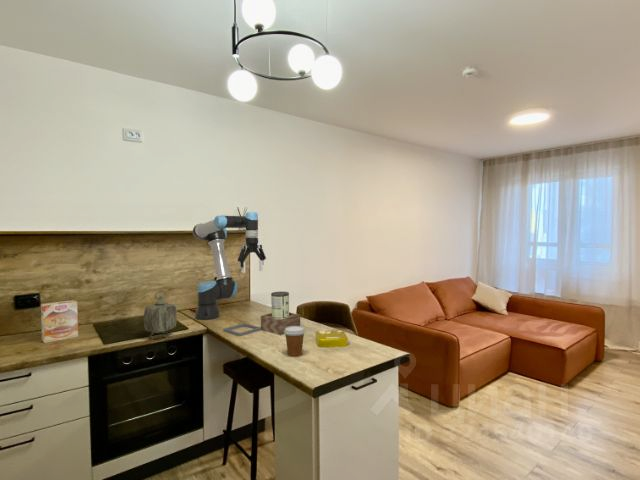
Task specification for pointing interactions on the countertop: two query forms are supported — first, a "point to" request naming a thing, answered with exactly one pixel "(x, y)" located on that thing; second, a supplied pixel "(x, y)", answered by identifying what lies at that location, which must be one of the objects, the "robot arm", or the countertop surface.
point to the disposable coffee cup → (294, 340)
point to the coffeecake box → (59, 321)
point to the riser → (279, 323)
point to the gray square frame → (229, 330)
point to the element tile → (331, 338)
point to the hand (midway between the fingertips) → (252, 271)
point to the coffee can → (280, 305)
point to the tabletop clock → (160, 317)
